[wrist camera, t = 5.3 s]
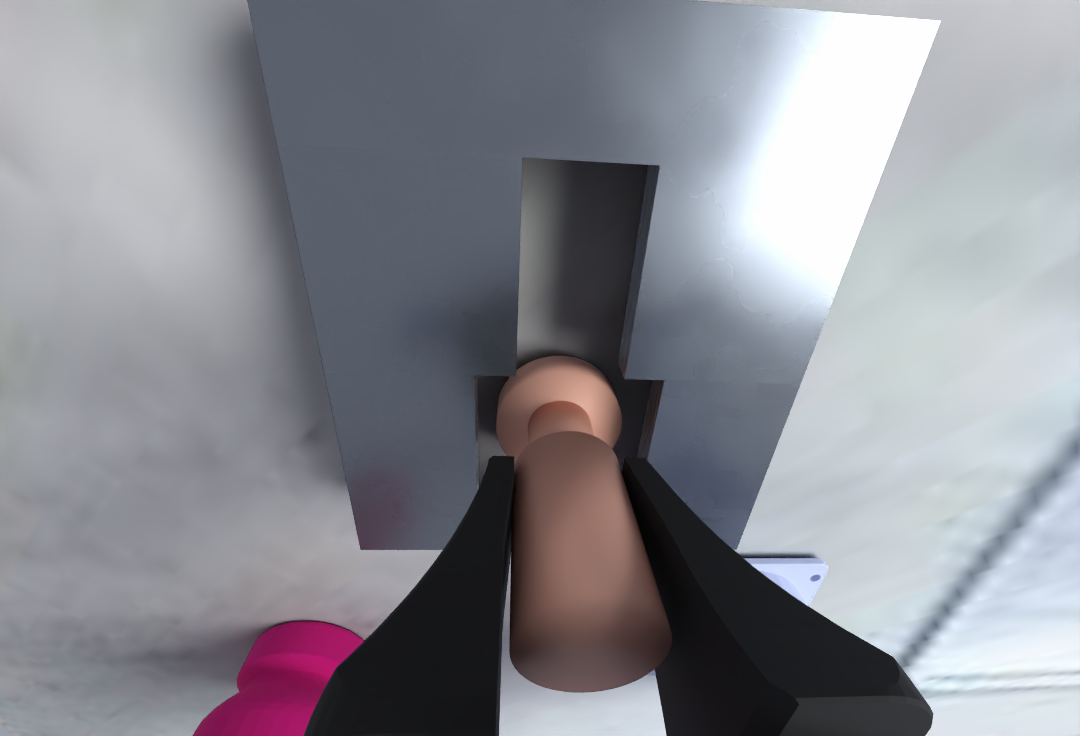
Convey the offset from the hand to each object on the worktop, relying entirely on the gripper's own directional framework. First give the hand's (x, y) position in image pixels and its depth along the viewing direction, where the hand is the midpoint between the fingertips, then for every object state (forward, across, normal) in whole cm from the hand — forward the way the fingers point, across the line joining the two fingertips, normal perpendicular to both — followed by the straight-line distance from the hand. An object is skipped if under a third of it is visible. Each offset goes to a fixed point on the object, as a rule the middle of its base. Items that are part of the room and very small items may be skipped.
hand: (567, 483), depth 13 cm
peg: (+4, 0, 0) cm, 4 cm away
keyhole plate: (+4, 0, -4) cm, 6 cm away
